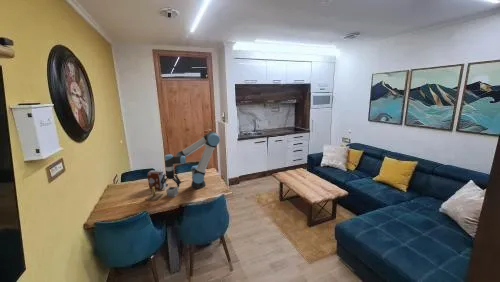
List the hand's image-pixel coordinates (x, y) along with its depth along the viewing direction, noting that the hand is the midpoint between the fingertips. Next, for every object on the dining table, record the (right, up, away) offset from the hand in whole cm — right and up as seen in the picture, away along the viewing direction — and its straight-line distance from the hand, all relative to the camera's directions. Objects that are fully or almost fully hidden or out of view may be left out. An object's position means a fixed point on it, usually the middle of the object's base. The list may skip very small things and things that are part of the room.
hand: (171, 189), depth 218 cm
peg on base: (-16, -7, -3) cm, 17 cm away
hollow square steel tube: (+1, -5, +1) cm, 6 cm away
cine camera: (-19, -2, +16) cm, 25 cm away
